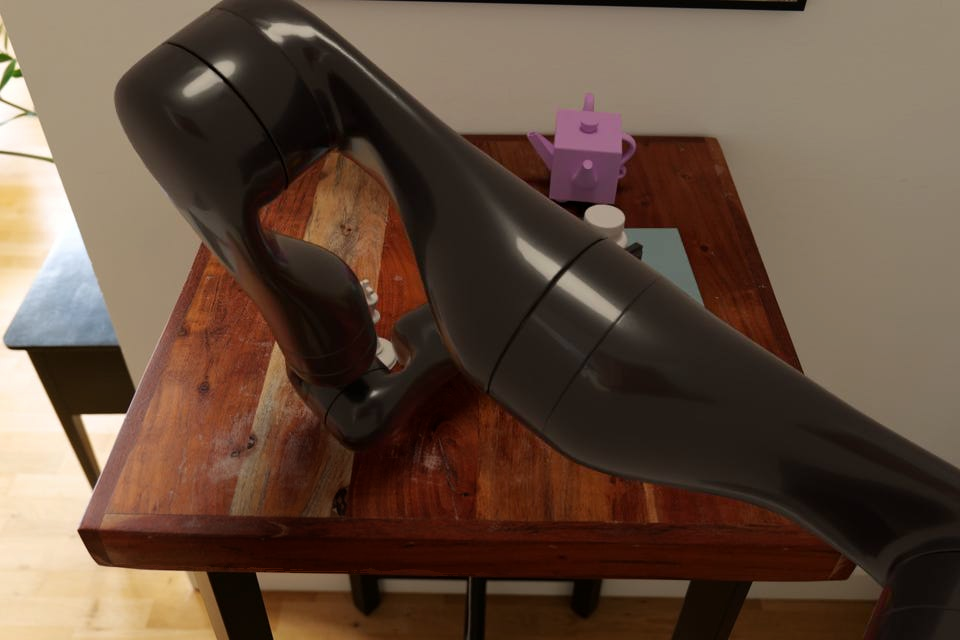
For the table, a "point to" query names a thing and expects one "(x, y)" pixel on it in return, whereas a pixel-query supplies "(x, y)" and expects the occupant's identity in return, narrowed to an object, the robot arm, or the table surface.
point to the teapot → (585, 154)
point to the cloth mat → (666, 256)
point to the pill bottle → (607, 222)
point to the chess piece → (383, 345)
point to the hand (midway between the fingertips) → (615, 237)
